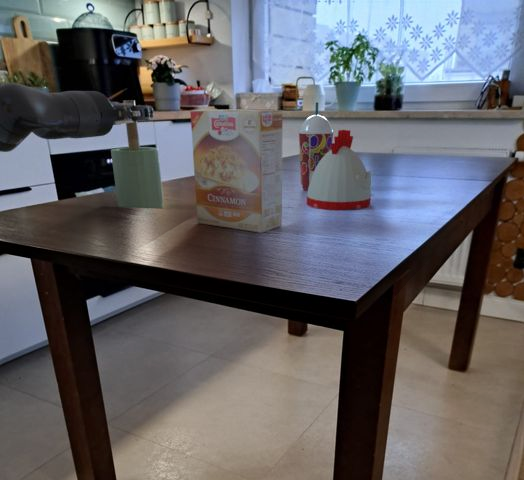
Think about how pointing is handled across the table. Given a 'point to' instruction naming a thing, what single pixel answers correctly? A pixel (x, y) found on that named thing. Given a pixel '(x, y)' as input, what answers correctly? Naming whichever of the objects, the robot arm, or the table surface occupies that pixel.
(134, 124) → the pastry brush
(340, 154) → the kitchen timer
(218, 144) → the coffeecake box
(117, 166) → the green canister
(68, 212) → the table surface
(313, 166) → the smoothie
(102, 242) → the table surface
